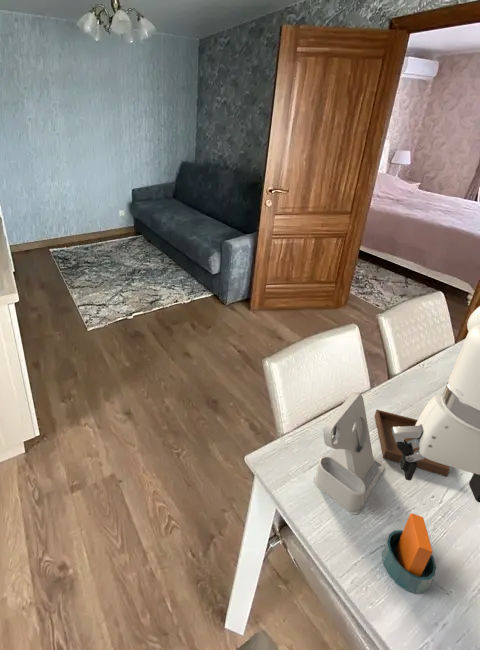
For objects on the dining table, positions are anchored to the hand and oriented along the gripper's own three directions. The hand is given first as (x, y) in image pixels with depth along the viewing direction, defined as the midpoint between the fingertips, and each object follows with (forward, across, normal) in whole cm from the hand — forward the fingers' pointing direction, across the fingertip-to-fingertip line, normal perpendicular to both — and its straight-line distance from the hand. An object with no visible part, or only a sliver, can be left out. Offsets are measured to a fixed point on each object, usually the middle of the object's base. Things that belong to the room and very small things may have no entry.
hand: (439, 482), depth 57 cm
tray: (+23, -7, -29) cm, 37 cm away
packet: (+22, 0, +1) cm, 22 cm away
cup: (+23, 0, +1) cm, 23 cm away
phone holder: (+23, +8, -15) cm, 28 cm away
